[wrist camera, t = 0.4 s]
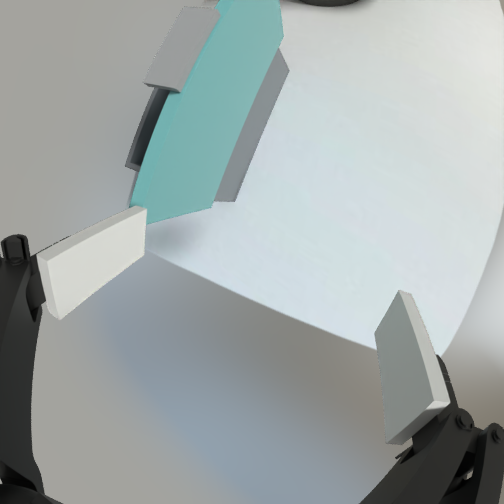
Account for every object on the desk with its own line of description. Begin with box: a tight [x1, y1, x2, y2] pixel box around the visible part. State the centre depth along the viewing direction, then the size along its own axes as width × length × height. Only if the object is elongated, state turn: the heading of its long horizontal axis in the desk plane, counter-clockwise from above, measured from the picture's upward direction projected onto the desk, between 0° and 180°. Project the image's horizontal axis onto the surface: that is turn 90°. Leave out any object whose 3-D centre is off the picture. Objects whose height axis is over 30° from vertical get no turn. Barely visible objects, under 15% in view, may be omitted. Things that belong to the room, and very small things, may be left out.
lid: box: [129, 0, 284, 225], centre depth 20 cm, size 23×16×3 cm
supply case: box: [125, 47, 289, 202], centre depth 34 cm, size 22×14×9 cm, turn 157°
